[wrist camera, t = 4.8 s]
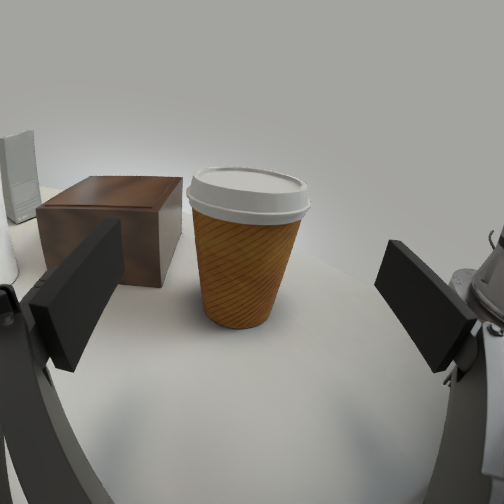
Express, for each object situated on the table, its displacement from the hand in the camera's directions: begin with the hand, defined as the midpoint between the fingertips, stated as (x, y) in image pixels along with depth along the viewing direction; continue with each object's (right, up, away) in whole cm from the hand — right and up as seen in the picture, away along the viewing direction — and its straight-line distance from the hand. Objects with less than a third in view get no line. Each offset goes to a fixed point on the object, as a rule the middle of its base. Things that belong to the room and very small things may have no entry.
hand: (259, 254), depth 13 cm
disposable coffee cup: (-2, -5, +13) cm, 14 cm away
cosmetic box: (-43, +7, +27) cm, 51 cm away
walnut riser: (-17, 0, +20) cm, 26 cm away
